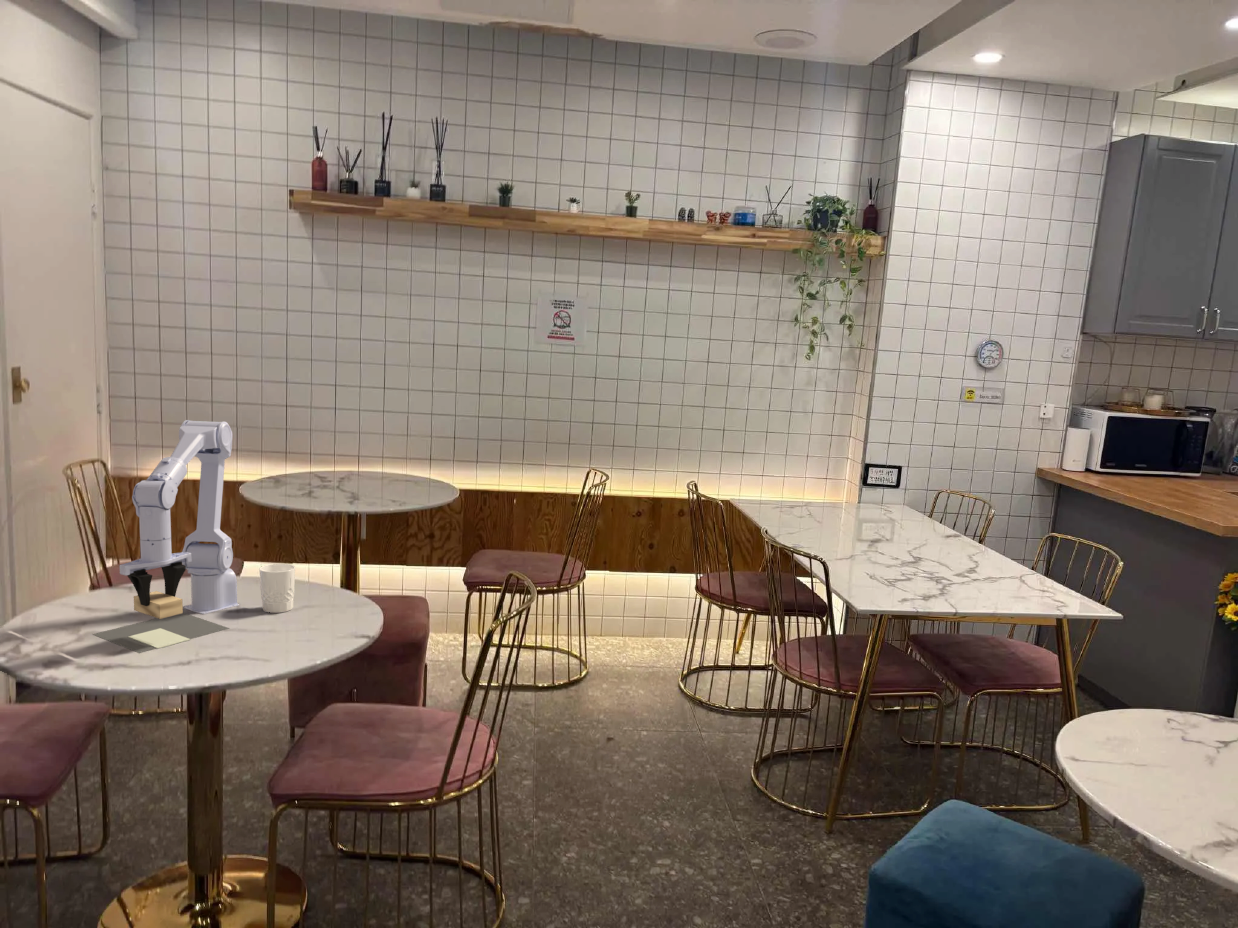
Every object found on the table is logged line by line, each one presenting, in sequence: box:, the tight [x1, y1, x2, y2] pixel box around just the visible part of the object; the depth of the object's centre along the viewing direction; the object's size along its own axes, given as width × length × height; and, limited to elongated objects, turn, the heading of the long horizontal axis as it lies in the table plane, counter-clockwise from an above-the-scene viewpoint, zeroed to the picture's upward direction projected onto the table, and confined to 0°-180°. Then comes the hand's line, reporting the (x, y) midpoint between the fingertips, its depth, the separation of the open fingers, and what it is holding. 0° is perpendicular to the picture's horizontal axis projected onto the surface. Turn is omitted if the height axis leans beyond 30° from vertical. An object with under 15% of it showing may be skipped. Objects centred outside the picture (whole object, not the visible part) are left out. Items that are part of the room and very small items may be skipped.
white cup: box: [258, 563, 296, 614], centre depth 214 cm, size 8×8×10 cm
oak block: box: [133, 590, 184, 619], centre depth 189 cm, size 9×5×3 cm, turn 59°
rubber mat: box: [92, 612, 230, 654], centre depth 195 cm, size 20×18×1 cm
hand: (157, 601), depth 189 cm, fingers closed on oak block, 5 cm apart
